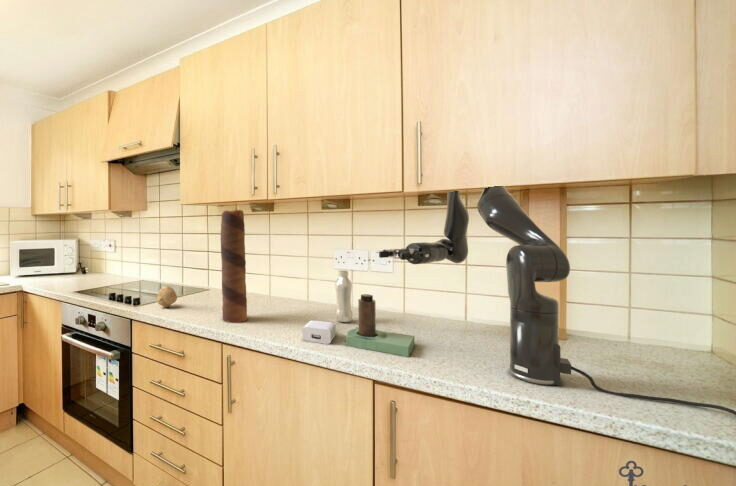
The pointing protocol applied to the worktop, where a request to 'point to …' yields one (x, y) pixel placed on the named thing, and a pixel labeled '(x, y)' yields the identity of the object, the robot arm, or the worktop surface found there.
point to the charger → (319, 332)
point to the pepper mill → (367, 316)
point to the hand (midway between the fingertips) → (390, 255)
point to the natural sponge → (166, 296)
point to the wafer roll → (233, 266)
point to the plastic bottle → (343, 297)
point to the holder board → (382, 342)
